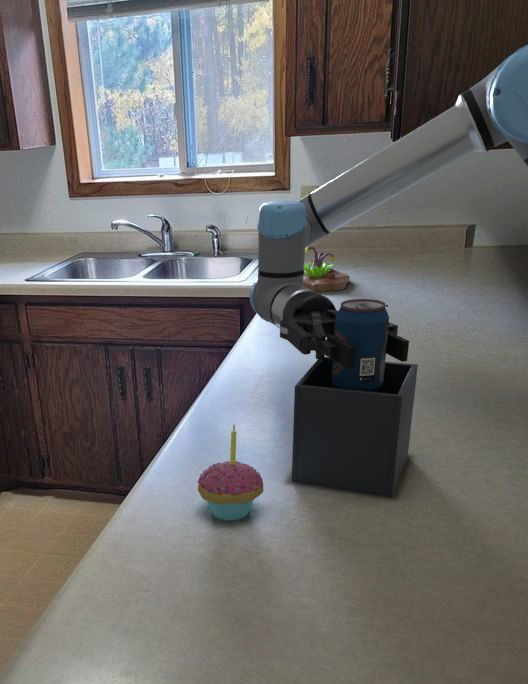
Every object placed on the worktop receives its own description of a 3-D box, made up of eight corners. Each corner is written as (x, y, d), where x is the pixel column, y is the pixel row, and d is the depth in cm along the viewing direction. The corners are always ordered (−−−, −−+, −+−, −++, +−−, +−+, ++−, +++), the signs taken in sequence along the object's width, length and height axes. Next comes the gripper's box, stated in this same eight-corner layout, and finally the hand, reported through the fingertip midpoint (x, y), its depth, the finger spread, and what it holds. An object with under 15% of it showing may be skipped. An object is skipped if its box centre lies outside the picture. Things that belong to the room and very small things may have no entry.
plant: (290, 277, 234) (291, 240, 229) (352, 279, 228) (355, 241, 223) (274, 290, 218) (275, 251, 213) (341, 293, 211) (344, 252, 206)
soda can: (325, 384, 105) (329, 299, 100) (372, 380, 105) (379, 296, 100) (339, 400, 99) (345, 311, 93) (390, 396, 99) (398, 307, 94)
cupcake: (207, 496, 103) (205, 416, 97) (268, 502, 100) (269, 420, 95) (191, 526, 95) (188, 441, 90) (256, 534, 93) (257, 446, 88)
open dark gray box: (407, 459, 111) (417, 364, 104) (391, 500, 99) (402, 396, 93) (315, 447, 116) (320, 356, 109) (291, 484, 105) (294, 385, 98)
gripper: (360, 331, 119) (443, 373, 99) (244, 345, 114) (306, 392, 94) (364, 284, 115) (450, 317, 95) (244, 296, 111) (308, 334, 91)
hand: (378, 354), depth 95 cm, fingers closed on soda can, 7 cm apart
